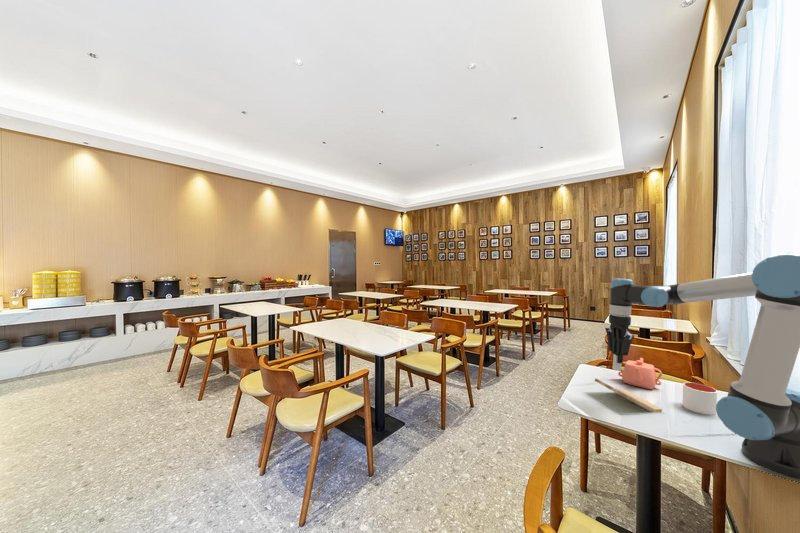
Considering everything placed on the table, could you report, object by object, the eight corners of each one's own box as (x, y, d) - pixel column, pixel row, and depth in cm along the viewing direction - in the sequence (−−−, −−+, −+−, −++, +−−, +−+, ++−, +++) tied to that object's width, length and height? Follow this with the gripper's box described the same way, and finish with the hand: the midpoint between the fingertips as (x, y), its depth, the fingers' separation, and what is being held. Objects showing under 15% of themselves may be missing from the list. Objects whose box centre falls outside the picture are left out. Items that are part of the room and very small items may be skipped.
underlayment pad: (665, 415, 121) (665, 410, 121) (620, 417, 120) (620, 411, 119) (624, 393, 141) (624, 388, 141) (585, 394, 139) (585, 389, 139)
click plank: (651, 411, 122) (652, 408, 122) (627, 399, 121) (628, 396, 121) (616, 391, 140) (617, 389, 140) (594, 380, 139) (595, 378, 139)
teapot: (635, 393, 142) (636, 366, 141) (611, 378, 158) (612, 354, 158) (668, 394, 141) (669, 367, 141) (641, 379, 158) (642, 355, 157)
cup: (723, 418, 120) (724, 393, 119) (693, 415, 122) (694, 391, 121) (703, 406, 129) (704, 383, 129) (676, 404, 131) (677, 381, 131)
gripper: (641, 318, 122) (638, 375, 124) (616, 312, 135) (613, 364, 137) (623, 318, 122) (620, 375, 123) (600, 311, 135) (597, 364, 136)
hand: (617, 369), depth 130 cm, fingers closed
